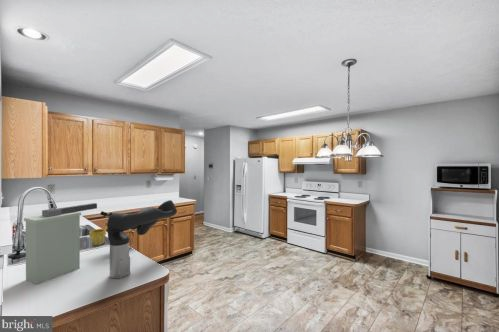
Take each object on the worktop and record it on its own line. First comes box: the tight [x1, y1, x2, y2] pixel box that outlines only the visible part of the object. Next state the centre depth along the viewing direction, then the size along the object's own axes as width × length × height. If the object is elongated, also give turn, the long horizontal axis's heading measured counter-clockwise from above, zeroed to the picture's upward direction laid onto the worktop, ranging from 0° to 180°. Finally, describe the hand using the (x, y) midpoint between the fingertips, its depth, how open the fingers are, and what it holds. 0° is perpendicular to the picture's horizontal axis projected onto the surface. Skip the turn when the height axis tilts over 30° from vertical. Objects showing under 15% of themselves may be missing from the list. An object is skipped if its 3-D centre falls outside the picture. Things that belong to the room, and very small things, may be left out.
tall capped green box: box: [23, 211, 82, 286], centre depth 128 cm, size 21×11×32 cm, turn 155°
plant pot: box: [89, 228, 107, 246], centre depth 175 cm, size 10×10×10 cm
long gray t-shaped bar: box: [41, 202, 98, 217], centre depth 136 cm, size 26×6×3 cm, turn 155°
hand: (105, 213), depth 153 cm, fingers open, 8 cm apart
